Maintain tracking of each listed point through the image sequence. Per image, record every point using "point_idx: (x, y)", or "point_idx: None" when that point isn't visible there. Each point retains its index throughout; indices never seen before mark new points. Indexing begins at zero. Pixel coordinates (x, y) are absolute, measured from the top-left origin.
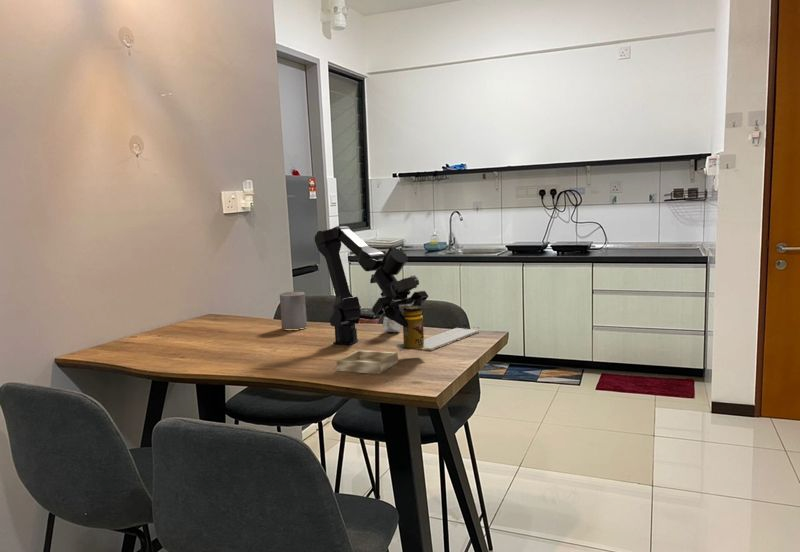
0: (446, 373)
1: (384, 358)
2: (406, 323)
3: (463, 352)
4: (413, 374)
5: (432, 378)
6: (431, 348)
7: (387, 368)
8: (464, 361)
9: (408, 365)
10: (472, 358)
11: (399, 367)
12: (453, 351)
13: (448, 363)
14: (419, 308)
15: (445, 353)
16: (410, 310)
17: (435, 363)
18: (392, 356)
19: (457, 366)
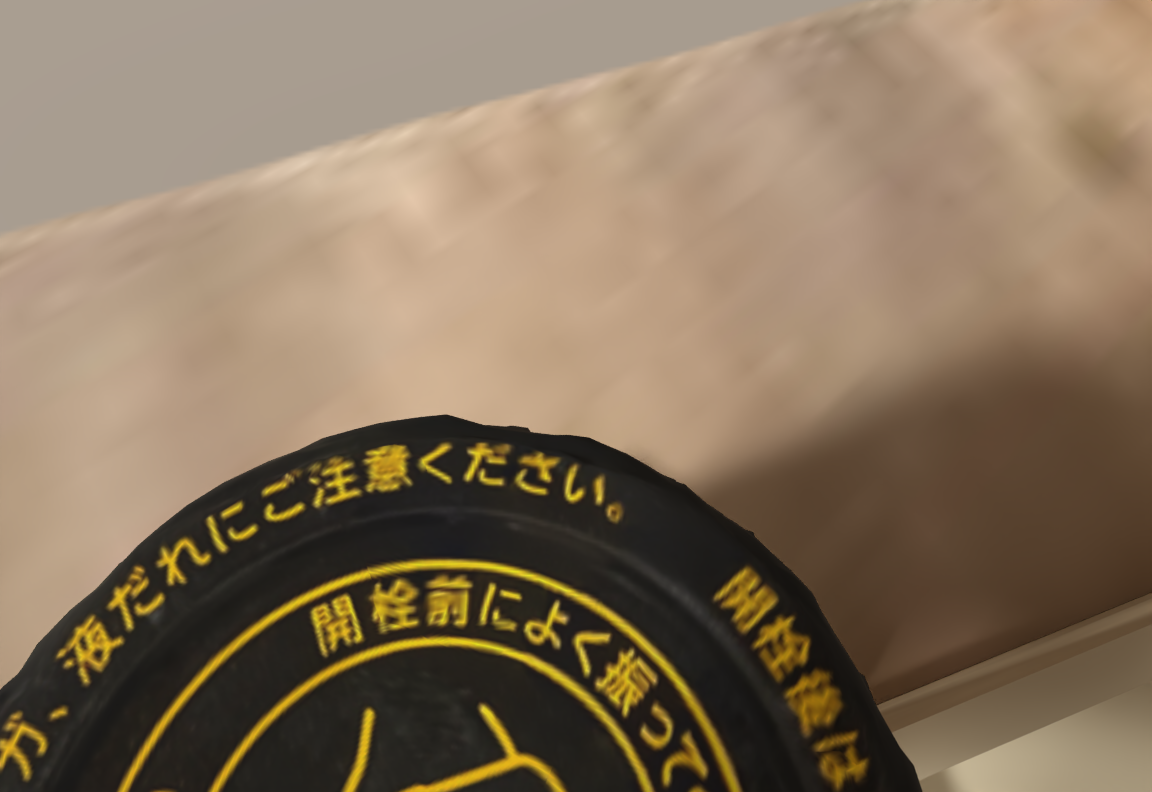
0: (771, 120)
1: (1140, 684)
2: None
3: (63, 400)
4: (979, 300)
5: (943, 123)
6: None
7: (1053, 633)
8: (380, 205)
9: (802, 541)
10: (252, 207)
11: (918, 567)
12: (57, 516)
13: (513, 274)
14: (407, 424)
15: None
16: (839, 645)
17: (581, 368)
18: (977, 693)
19: (553, 164)
